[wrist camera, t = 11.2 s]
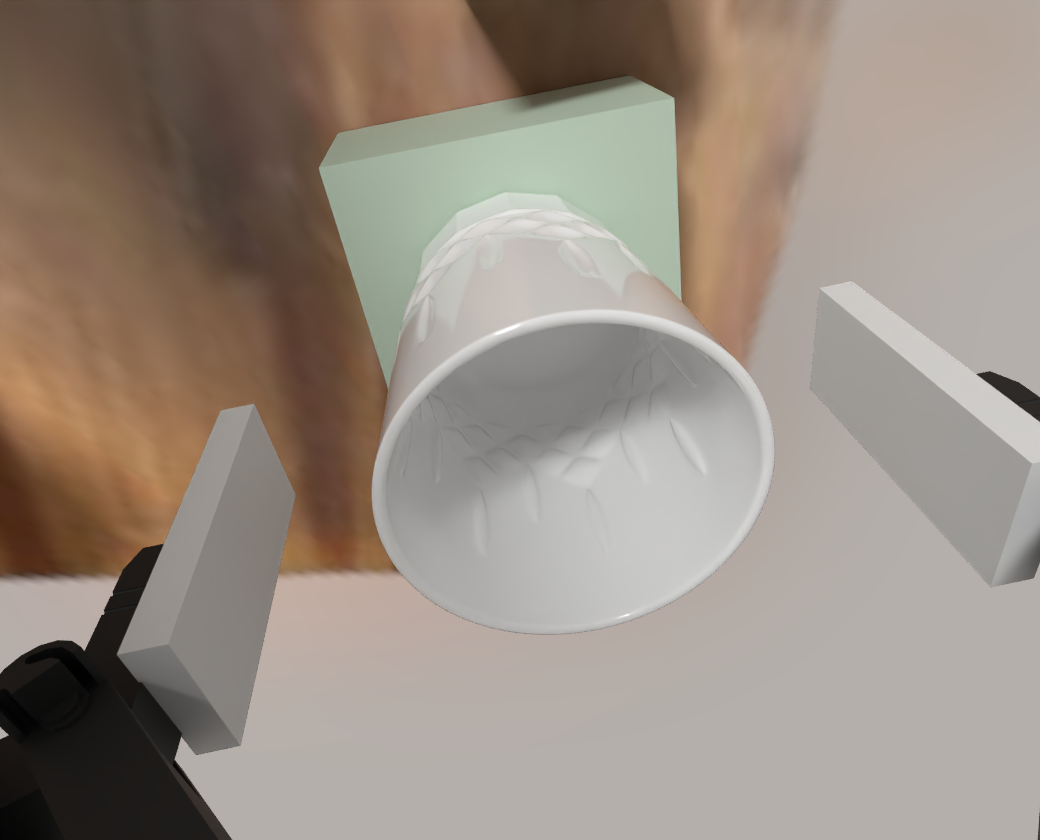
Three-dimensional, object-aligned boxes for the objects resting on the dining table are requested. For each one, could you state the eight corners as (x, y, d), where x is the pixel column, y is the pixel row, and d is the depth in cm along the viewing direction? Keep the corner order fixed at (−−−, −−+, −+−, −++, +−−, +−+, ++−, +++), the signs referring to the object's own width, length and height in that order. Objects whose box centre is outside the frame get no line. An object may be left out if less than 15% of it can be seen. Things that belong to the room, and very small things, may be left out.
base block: (411, 385, 29) (408, 455, 25) (338, 133, 23) (318, 168, 19) (647, 337, 29) (685, 400, 25) (630, 75, 23) (674, 97, 19)
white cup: (351, 345, 22) (305, 572, 14) (470, 113, 19) (504, 226, 10) (558, 437, 25) (624, 671, 17) (692, 249, 22) (859, 423, 13)
